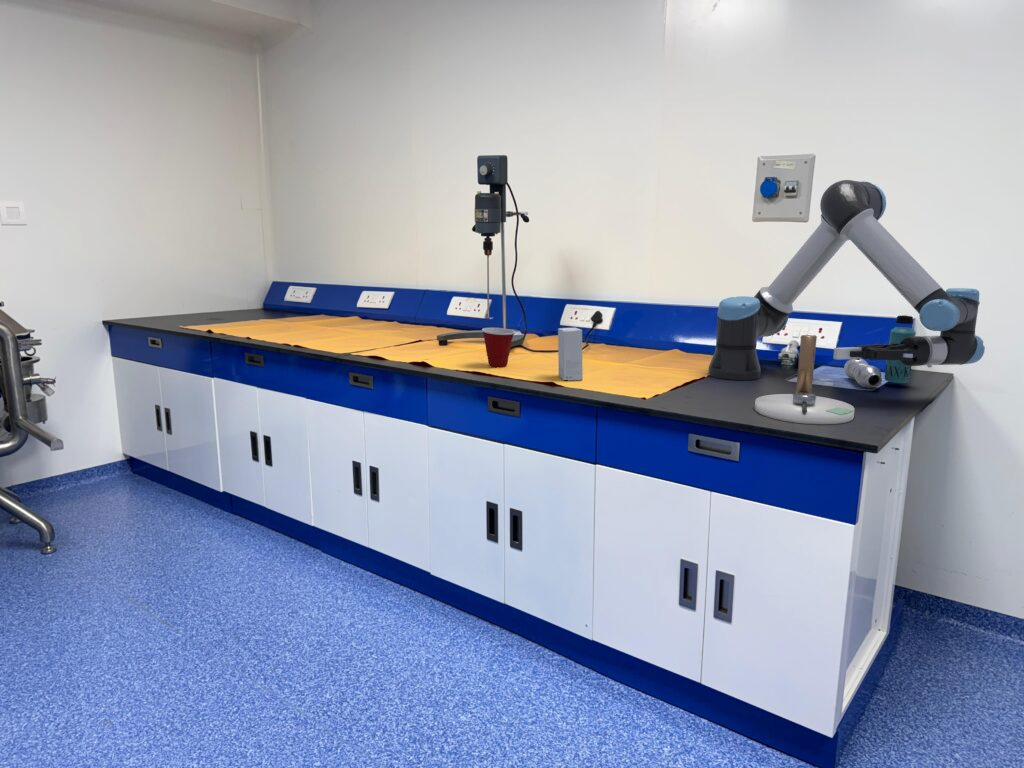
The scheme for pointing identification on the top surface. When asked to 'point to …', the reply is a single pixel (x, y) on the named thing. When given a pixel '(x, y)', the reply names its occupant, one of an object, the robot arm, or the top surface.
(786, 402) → the round white plate
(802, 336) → the crank handle
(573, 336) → the skincare box
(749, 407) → the top surface
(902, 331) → the beverage bottle
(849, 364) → the silver metal bottle
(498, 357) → the plastic cup
